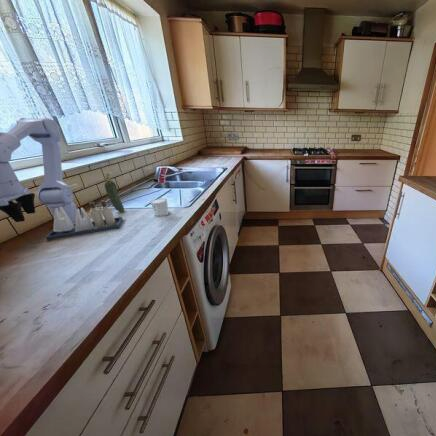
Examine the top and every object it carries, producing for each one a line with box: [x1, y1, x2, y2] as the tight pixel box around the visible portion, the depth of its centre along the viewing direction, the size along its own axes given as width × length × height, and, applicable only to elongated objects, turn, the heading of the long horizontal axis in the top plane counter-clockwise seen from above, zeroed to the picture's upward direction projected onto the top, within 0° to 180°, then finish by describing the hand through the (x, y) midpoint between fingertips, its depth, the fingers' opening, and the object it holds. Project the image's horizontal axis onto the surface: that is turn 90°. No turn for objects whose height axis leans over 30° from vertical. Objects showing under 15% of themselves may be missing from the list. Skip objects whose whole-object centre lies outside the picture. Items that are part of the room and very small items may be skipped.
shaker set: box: [53, 207, 95, 232], centre depth 92 cm, size 12×4×11 cm, turn 108°
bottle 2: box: [100, 200, 117, 226], centre depth 96 cm, size 3×3×11 cm
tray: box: [45, 216, 124, 241], centre depth 95 cm, size 9×23×2 cm, turn 115°
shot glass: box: [150, 198, 169, 217], centre depth 109 cm, size 7×7×7 cm
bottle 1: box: [89, 201, 106, 228], centre depth 95 cm, size 3×3×11 cm
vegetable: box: [104, 171, 125, 213], centre depth 108 cm, size 4×4×20 cm
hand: (26, 217), depth 83 cm, fingers open, 7 cm apart
